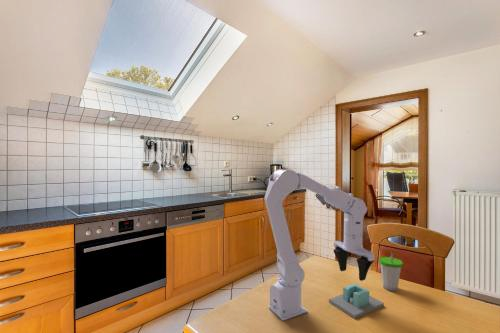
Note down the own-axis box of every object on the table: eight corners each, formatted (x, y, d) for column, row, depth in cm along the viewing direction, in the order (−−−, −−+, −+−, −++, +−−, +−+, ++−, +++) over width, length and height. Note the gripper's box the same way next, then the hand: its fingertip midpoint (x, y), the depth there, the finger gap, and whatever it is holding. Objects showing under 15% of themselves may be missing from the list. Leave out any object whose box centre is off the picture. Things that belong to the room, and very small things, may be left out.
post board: (354, 318, 75) (354, 307, 74) (328, 302, 83) (329, 291, 83) (383, 306, 81) (383, 295, 81) (357, 292, 90) (357, 282, 90)
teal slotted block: (354, 295, 86) (354, 283, 86) (369, 303, 81) (369, 290, 81) (343, 299, 83) (343, 287, 83) (357, 307, 78) (357, 295, 78)
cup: (384, 281, 98) (384, 243, 98) (406, 289, 92) (406, 248, 92) (374, 287, 93) (374, 247, 93) (397, 296, 87) (397, 253, 87)
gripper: (381, 238, 78) (380, 281, 78) (343, 227, 91) (343, 264, 91) (366, 241, 75) (365, 286, 75) (329, 229, 87) (329, 268, 88)
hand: (352, 274), depth 83 cm, fingers open, 7 cm apart
